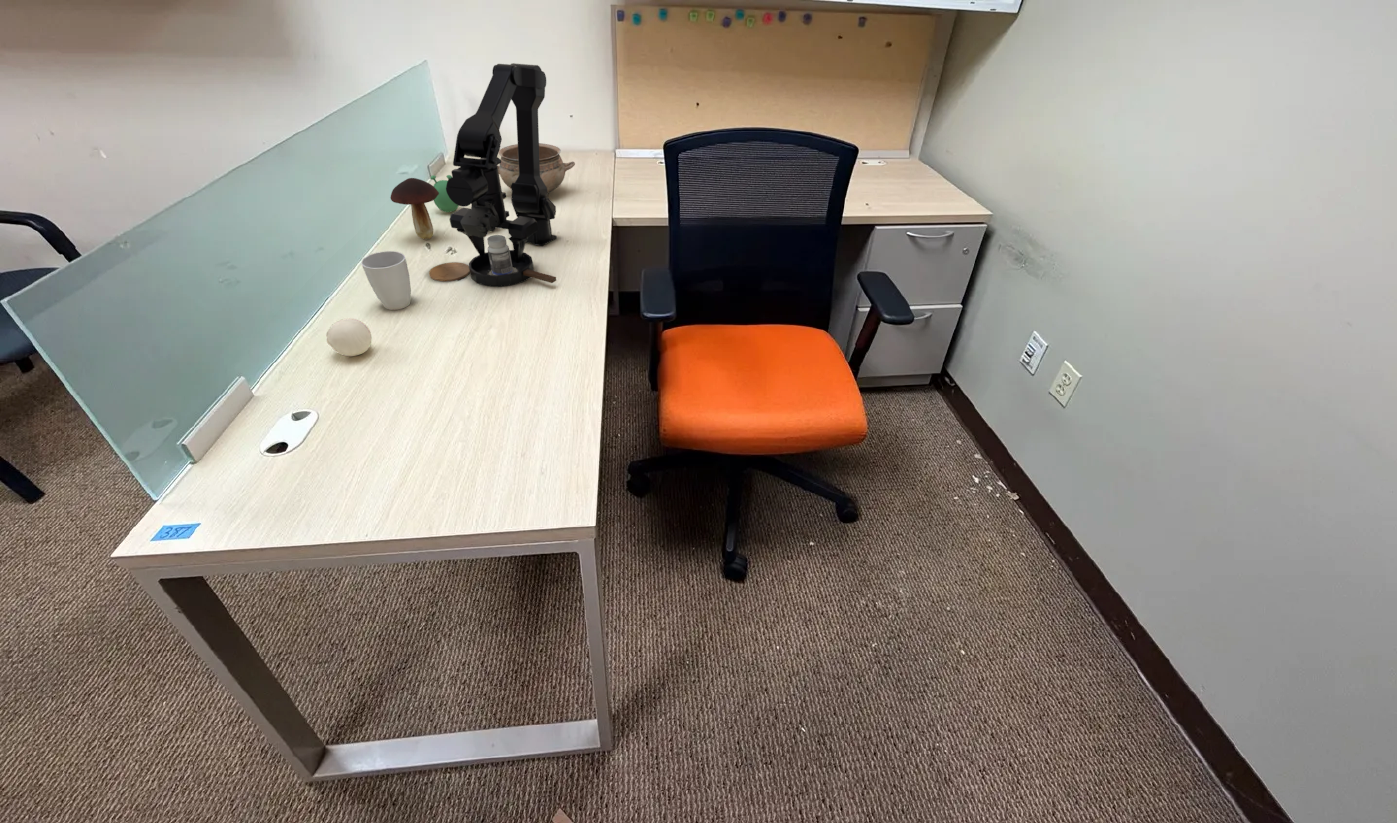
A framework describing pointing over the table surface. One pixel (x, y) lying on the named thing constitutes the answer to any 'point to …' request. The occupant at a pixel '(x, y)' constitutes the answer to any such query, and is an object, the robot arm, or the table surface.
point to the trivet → (449, 271)
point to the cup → (389, 278)
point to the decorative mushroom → (417, 203)
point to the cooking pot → (549, 165)
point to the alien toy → (443, 196)
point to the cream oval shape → (349, 337)
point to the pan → (525, 271)
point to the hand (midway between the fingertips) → (500, 259)
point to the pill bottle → (499, 255)
